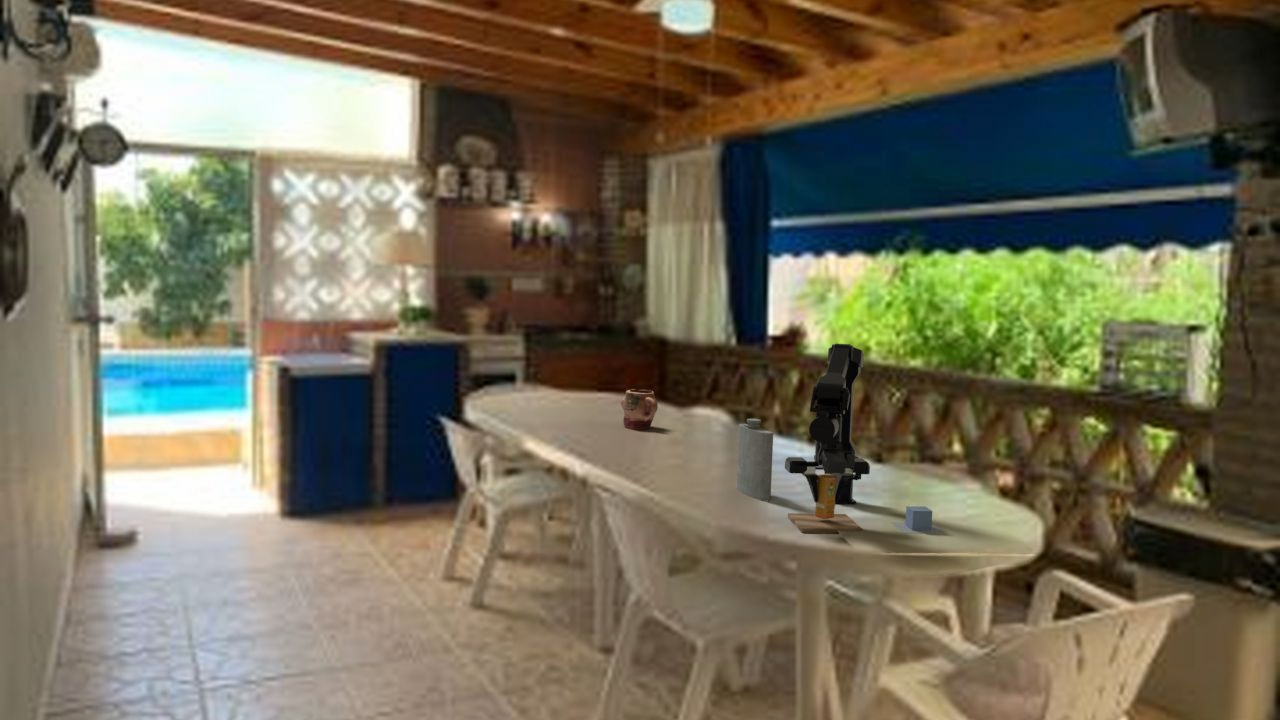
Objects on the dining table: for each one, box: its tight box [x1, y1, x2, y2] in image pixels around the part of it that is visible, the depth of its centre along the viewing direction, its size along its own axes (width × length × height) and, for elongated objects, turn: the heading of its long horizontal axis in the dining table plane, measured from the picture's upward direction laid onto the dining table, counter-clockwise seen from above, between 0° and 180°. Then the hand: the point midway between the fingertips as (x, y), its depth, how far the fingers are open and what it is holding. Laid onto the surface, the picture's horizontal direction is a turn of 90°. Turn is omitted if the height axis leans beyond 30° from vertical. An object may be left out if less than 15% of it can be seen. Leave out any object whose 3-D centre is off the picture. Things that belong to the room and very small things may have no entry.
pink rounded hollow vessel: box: [620, 388, 659, 430], centre depth 370 cm, size 20×12×14 cm, turn 36°
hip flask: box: [736, 418, 774, 502], centre depth 265 cm, size 16×4×20 cm, turn 20°
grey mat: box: [889, 521, 948, 535], centre depth 232 cm, size 10×10×1 cm
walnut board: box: [787, 512, 863, 534], centre depth 235 cm, size 14×14×1 cm
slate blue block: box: [905, 505, 933, 531], centre depth 232 cm, size 4×4×4 cm
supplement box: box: [814, 473, 836, 519], centre depth 234 cm, size 3×3×10 cm
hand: (825, 502), depth 234 cm, fingers closed on supplement box, 4 cm apart
